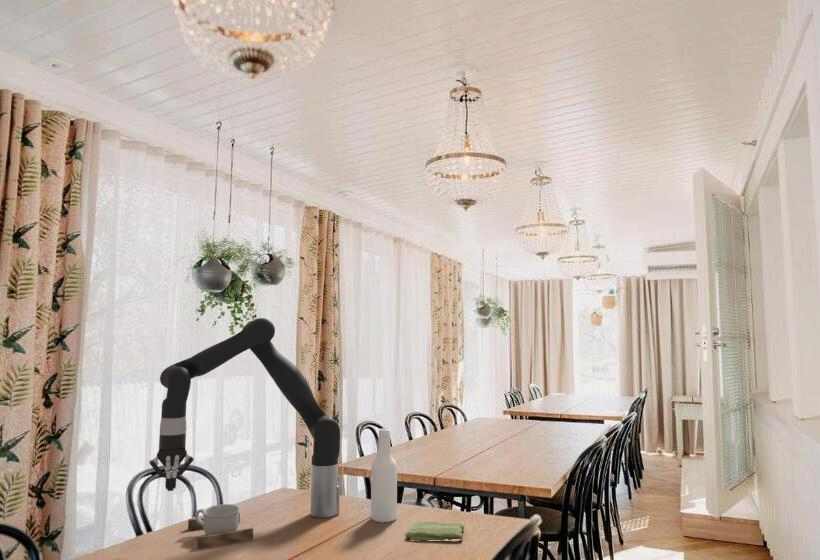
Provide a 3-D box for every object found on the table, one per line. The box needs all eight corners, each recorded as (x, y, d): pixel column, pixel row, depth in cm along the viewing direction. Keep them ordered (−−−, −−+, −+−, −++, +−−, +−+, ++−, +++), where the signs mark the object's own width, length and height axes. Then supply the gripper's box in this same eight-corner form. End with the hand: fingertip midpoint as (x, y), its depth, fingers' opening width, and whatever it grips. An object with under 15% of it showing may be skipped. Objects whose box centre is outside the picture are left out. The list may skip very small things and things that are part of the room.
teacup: (245, 531, 182) (246, 505, 183) (224, 543, 172) (224, 515, 172) (209, 527, 186) (210, 501, 187) (186, 538, 176) (187, 511, 177)
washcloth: (410, 528, 187) (410, 518, 187) (464, 530, 184) (464, 520, 185) (404, 542, 174) (404, 531, 174) (462, 545, 172) (462, 533, 172)
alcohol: (381, 524, 189) (381, 432, 192) (365, 518, 195) (366, 428, 199) (402, 519, 194) (402, 429, 197) (386, 513, 201) (387, 426, 204)
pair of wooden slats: (238, 521, 192) (238, 512, 192) (253, 539, 175) (253, 529, 175) (187, 529, 184) (188, 519, 185) (197, 548, 167) (198, 538, 167)
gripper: (193, 429, 182) (191, 485, 180) (148, 432, 176) (145, 490, 174) (197, 432, 176) (195, 490, 174) (150, 435, 169) (147, 496, 167)
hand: (170, 490), depth 174 cm, fingers closed
